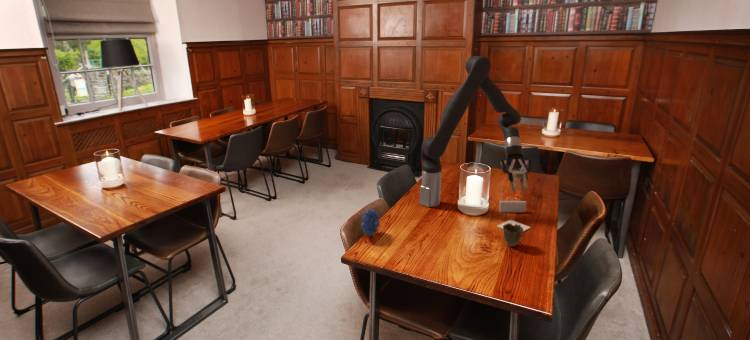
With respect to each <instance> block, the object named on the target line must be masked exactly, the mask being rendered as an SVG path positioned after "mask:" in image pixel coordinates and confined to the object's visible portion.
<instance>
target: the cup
mask: <svg viewBox="0 0 750 340" xmlns="http://www.w3.org/2000/svg"><path fill="white" fill-rule="evenodd" d="M502 233H503V239H504V241H505V242H506V245H507V246H508V247H511V248H514V247H516V246H517V244H518V243H520V241H521V239H522V235H523V233H524V232H523V229H522V227H521V226H520V225H517V224H515V226H514V225H512V223H511V224H509V223H508V224H507V225H506V224H505V226H503V229H502Z"/></svg>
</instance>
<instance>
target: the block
mask: <svg viewBox="0 0 750 340" xmlns="http://www.w3.org/2000/svg"><path fill="white" fill-rule="evenodd" d="M526 209H527V201H526V200H500V201H499V207H498V211H499V213H526V211H527V210H526Z"/></svg>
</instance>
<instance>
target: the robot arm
mask: <svg viewBox="0 0 750 340" xmlns="http://www.w3.org/2000/svg"><path fill="white" fill-rule="evenodd" d="M464 67H465V71H466V72H467V74H468V75H467V77H466V78H465V80H464V81H463V83H462V85H461V86H460V87H459V88H458V89H457V90H456V91H455V92H454V93H452V95H451V96H450V97H449V99H448V101H447V103H446V105H445V106H444V108H443V111H442V114H441V117H440V123H439V127H438V129H437V131H436V132H435V134H434V136H427V137H426V138H425V139H424V140H423V141H422V143H421V147H420V149H421V151H420V152H421V154H420V155H421V156H420V157H421V158H420V159H421V166H422V167H421V169H422V170H421V185H420V189H419V205H422V206H425V207H427V208H431V207H434V208H435V207H438V206H439V205H440V203H441V190H442V189H441V187H442V169H443V168H442V164H441V159H440V158H441V157H443V155H444V154H445V152H446V149H447V147H448V145H449V143H450V140H451V137H452V136H453V134H454V132H455V130H457V127H458V125H459V123H460V121H461V120H462V119H463V117H464V115H465V114H466V111H467V110H468V108H469V106H470V103H471V102H472V100H473V98H474V96H475V95H476V93H477V91H478V90H479V88H480V89H481V90H482V92H483V94H484V95H485V97H486V98H487V101H488V102H489V103H490V105H491V107H492V108H493V110H494V112H496V113H498V114H499V116H498V117H497V123H498V125H499V127H500V129H501V132H502V135H503V139H504V150H505V156H506V157H505V158H506V160H505V159H501V161H500V163H499V164H500V166H501V167H500V168H501V170H502V173H503V174H506V175H507V179H508V181H509V182H510V183H511V182H512V181H513V176H512V172H513V170H515V169H518V170H519V171H525V172H526V178H527V181H528V179H529V178H528V175H529V174H530V172H531V171H532V160H531V159H528V160H527V159H525V156H524V152H523V146H522V145H523V144H522V140H521V136H520V132H519V129H518V127H516V126H515V125H517V124H519V123H520V122H521V120H522V116H521V114H520V113H519V111H518V110H517V109H516V108H514V106H513V105H511V104H510V103H509V101H508V100H507V98H506V96H505V95H504V93H503V92H502V91H501V89H500V88H499V87H498V86H497V85H496V84H495V82H493V80H492V79H491V77H489V73H490V71H491V69H492V68H491V67H492V62H491V60H490V59H489V58H488V57H486V56H481V55H480V56H479V55H473V56H470V57H468V59H467V60H466V62H465V66H464ZM506 164H507V165H508V166H509V168H508V167H507V165H506ZM524 164H525V165H524Z"/></svg>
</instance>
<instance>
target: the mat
mask: <svg viewBox="0 0 750 340" xmlns="http://www.w3.org/2000/svg"><path fill="white" fill-rule="evenodd" d="M508 223H509V224H511V223H512V225H514V226H515V224H517V225H520V226H521V227H522V229H523V232H522V233H524V232H525V231H528V230H529V229H531V226H529V225H526V224H523V223H521V222H518V221H515V220H512V219H508V220H506V221H504V222H502V223H500V224H498V225H497V226H496V227H497V228H499V229H502V230H503V226H505V224H506V225H507V224H508Z"/></svg>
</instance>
